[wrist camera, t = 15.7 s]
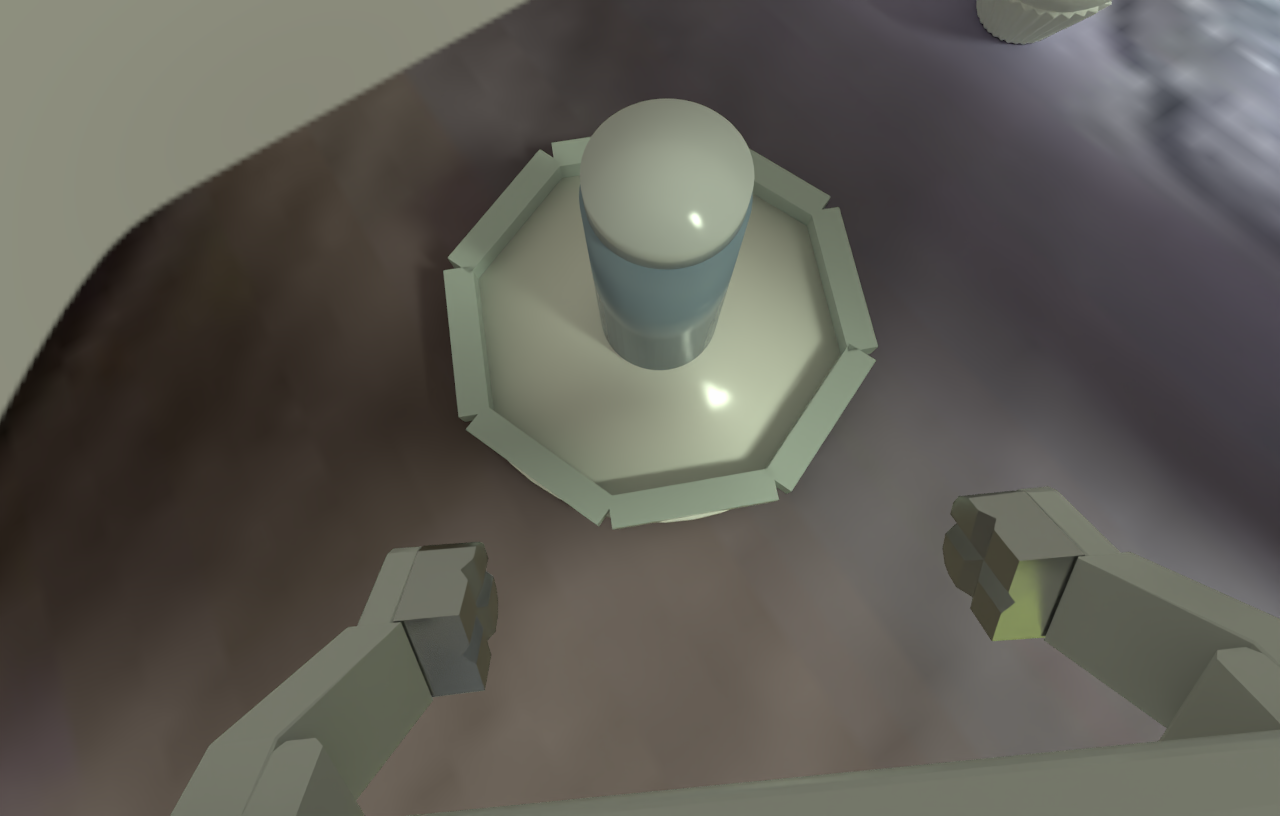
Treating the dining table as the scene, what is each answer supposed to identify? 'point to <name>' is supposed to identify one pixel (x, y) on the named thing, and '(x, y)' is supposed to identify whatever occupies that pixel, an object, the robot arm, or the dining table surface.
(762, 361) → the plate
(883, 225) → the dining table surface
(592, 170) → the ball
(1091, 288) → the dining table surface
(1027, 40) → the muffin
